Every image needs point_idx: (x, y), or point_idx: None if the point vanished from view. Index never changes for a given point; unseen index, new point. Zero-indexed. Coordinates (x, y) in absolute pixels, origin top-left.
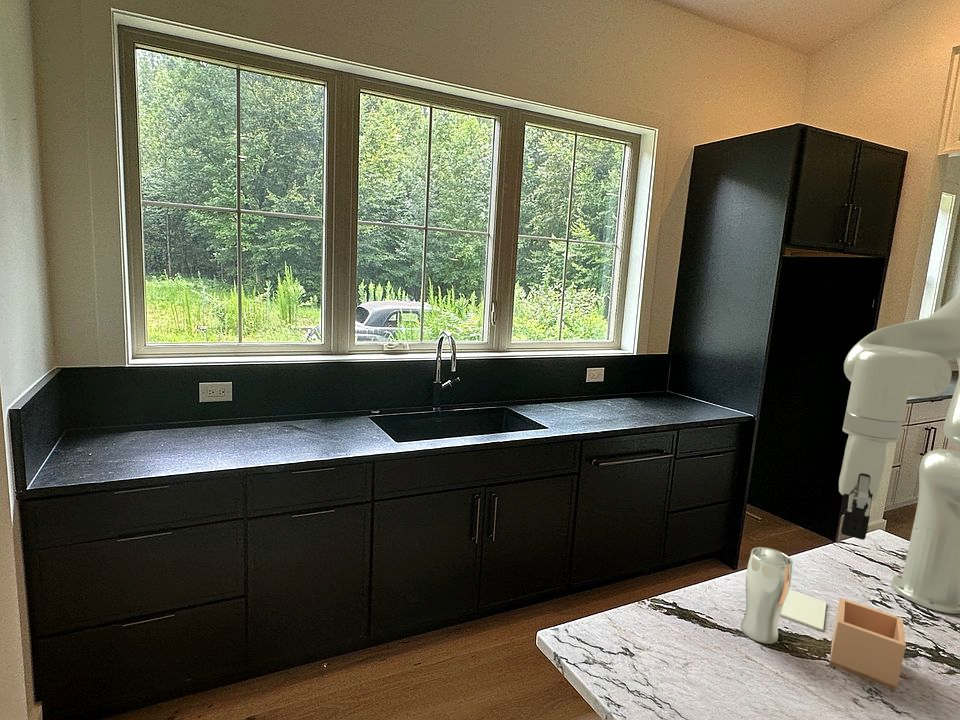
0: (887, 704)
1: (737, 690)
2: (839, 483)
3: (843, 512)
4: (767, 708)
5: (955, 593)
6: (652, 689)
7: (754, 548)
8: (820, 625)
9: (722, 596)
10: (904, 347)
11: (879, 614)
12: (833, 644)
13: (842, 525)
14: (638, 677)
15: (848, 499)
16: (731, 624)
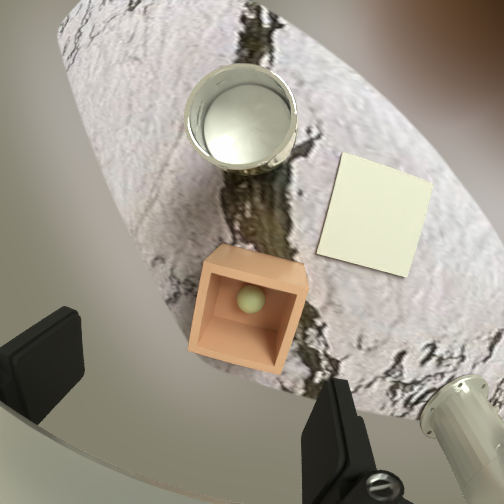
0: (173, 297)
1: (112, 118)
2: (48, 471)
3: (324, 387)
4: (98, 152)
5: (436, 437)
6: (86, 43)
7: (267, 71)
8: (327, 251)
9: (348, 97)
10: None
11: (281, 343)
12: (218, 251)
13: (46, 318)
14: (98, 27)
15: (327, 449)
16: None
